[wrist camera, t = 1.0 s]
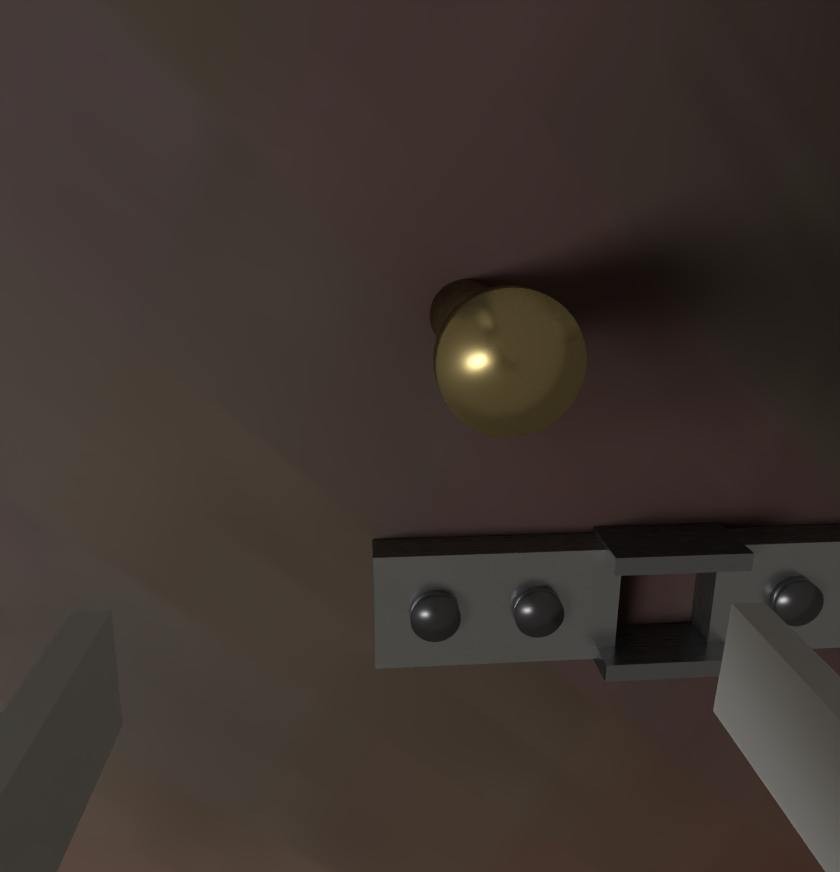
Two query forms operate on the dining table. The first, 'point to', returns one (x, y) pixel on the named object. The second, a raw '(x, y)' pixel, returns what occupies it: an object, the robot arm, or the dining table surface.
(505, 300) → the pin
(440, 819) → the dining table surface
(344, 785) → the dining table surface
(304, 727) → the dining table surface
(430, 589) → the grey long bar piece
